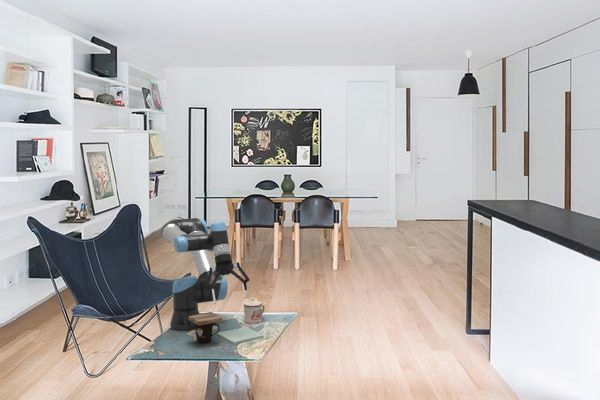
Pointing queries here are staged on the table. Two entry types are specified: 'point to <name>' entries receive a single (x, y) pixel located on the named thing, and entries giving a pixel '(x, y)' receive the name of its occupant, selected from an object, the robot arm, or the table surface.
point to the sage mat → (240, 335)
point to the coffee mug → (204, 333)
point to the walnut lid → (205, 318)
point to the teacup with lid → (253, 311)
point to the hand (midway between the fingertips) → (230, 300)
